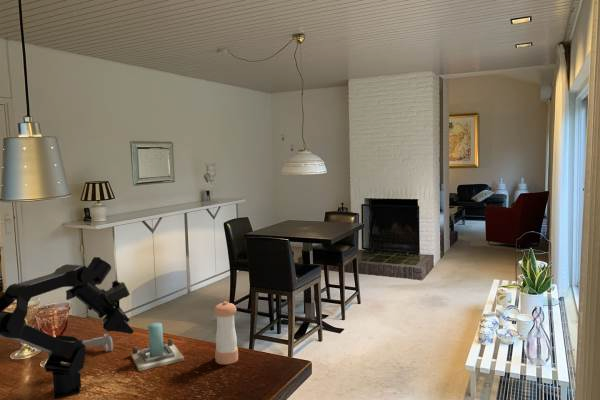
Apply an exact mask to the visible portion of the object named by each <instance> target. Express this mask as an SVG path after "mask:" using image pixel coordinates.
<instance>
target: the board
mask: <svg viewBox="0 0 600 400" xmlns="http://www.w3.org/2000/svg"><path fill="white" fill-rule="evenodd" d="M173 341H174V340H173V338H171V337H170V338H167V343H165V344H163V348H164V355H162V356H157V357H153V358H152V357H150V352H149V347H147V348H144V349H138V345H133V346H132V347H131V348H132V349H131V352H130V357H131V359H132V360H133V362H134V364H135V366H136V368H137V370H138V372H141V371H145V370H149V369H154V368H158V367H162V366H167V365H170V364H175V363H179V362H183V361H185V357H184V355H183V354H182V353H181V352H180V350H179V349H178V347H177V346H176V345H175V344H174V342H173Z"/></svg>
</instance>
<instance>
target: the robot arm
mask: <svg viewBox="0 0 600 400" xmlns="http://www.w3.org/2000/svg"><path fill="white" fill-rule="evenodd" d="M111 271H112V266H111V264H110V263H108V262H106V260H104V259H102V258H101V257H99V256H94V257H93V258H92V259H91V262H90V263H89V264H88V266H86V265H82V264H80V265H78V264H64V265H61V266H60V267H58V268H56V269H55V270H54V272H52V273H50V274H46V275H45V274H44V275H42V276H39V277H36V278H31V279H29V280H25V281H22V282H21V281H20V282H18V283H12V284H10V285H8V287H6V289H5V291H4V292H3V294H1V295H0V338H5V339H12V340H14V341H17V342H20V343H22V344H25V345H27V346H30V347H33V348H35V349H37V350H41V351H42V352H45V353H47V355H48V359H47V360H46V362H45V364H44V366H43V367H44V370H45V372H46V373H52V392H53V399H58V398H63V397H67V396H71V395H74V394H75V395H76V394H79V393H80V392H81V388H82V379H81V370H83V369H84V367H85V366H84V365H85V359H86V354H87V350H86V346H85V345H84V344H83V343H82V342H83V341H84V340H83V339H78V338H77V337H75V336H70V335H64V334H63V335H60V334H56V335H55V336H54V335H51V334H49V333H46V332H44V331H42V330H40V329H38V328H34V327H33V326H31V325H28V324H27V321H26V317H27V314H28V311H29V310H28V309H29V302H30V300H31V298H35V297H38V296H40V295H44V294H46V293H49V292H51V291H56V290H58V289H61V288H68V287H69V289H67V290H66V291H65V292H66V294H65V295H66V297H65V299H66V301H69V300H72V299H74V298H76V299H78V300H79V301H81V302H82V303H83V304H84V305H85V306H87V309H88V310H89V311H91V310H92V311H93V312H95V314H97V316H98V318H99V319H102V320H101V321H102V322H101V323H102V324H101V325H102V329H104V330H105V331H107V332H108V333H109V332H118V333H119V332H120V333H124V334H130V335H132V334H133V333H134V332H135V330H134V329H133V328H132V326H130V324H129V323H128V322H129V321H130V317H128V316H127V314H126V313H125V312H124V311H123V309H122V308H121V306H120V300H122V299H124V298H127V297H129V296H130V295H131V293H130V292H129V290H128V288H127V286H126V284H125V282H122V281H121V282H120V281H118V280H114V281H112V282H111V287H109V289H107V290H105V289H104V288H99V287H98V286H99V285H102V283H103V282H104V280H105V279H106V278H107V276H108V275H109V273H110V272H111ZM97 285H98V286H97ZM70 287H71V288H70ZM15 301H16V305H15V308H14V310H13V311H12V312H11V311H4V310H5V309H7V308H9V306H10V305H12V304H13V303H14V302H15ZM104 316H105V317H104Z"/></svg>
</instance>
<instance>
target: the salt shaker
mask: <svg viewBox="0 0 600 400" xmlns="http://www.w3.org/2000/svg"><path fill="white" fill-rule="evenodd" d="M213 312H214V314H215V316H216V333H215V334H216V335H215V346H216V348H215V350H214V354H215V355H214V356H215V358H214V359H215V360H214V361H215V363H217V364H219V365H231V364H234V363H236V362H238V360H239V349H238V348H239V347H238V344H237V343H238V342H237V339H238V337H237V332H236V328H235V314H236V313H237V306H235V304H234V303H231V302H228V301H227V300H226V301H225V300H223V302H221V303H218V304H217V305H216V306H215V307H214V310H213Z"/></svg>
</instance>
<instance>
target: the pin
mask: <svg viewBox="0 0 600 400" xmlns="http://www.w3.org/2000/svg"><path fill="white" fill-rule="evenodd" d="M147 330H148V331H147V332H148V333H147V334H148V348H149V352H150V357H152V358H153V357H157V356H162V355H164V348H163V345H164V335H163V334H164V332H163V331H164V330H163V323H161V322H153V323H149V324H148V325H147Z"/></svg>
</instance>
